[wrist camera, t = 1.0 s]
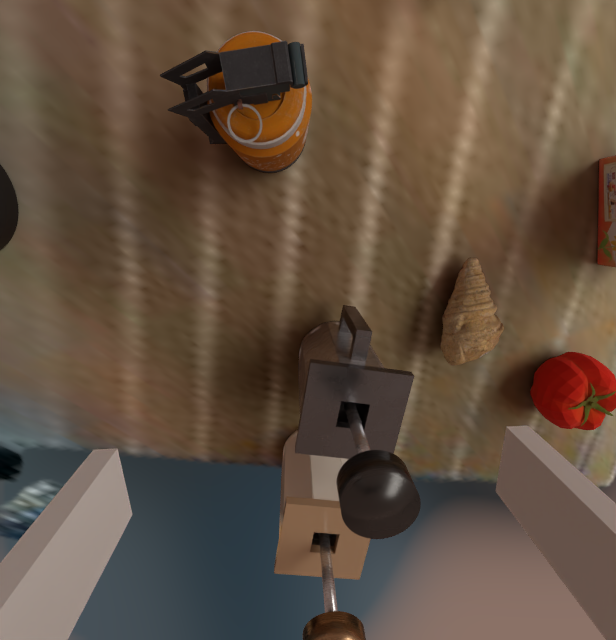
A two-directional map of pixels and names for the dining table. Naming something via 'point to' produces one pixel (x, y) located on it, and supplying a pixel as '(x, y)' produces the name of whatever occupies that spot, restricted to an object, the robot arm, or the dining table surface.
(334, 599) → the brass press plunger
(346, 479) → the steel plunger
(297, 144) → the canister
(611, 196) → the cracker box
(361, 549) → the ceramic press carafe
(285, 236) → the dining table surface
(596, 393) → the tomato
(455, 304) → the seashell
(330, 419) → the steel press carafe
